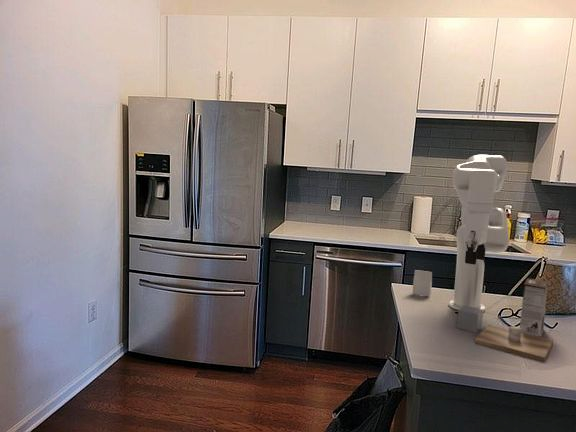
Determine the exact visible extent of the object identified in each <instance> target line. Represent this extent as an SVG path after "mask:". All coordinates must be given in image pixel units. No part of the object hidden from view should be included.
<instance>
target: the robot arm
mask: <svg viewBox="0 0 576 432" xmlns="http://www.w3.org/2000/svg"><path fill="white" fill-rule="evenodd" d="M507 172H508V161H507V159H506V158H505V157H504V156H503V155H492V154H491V155H489V154H476V155H472V156H470V157H469V158H467V160H466V162H465V163H464V162H463V163H461V164H458V165H456V166H455V168H454V170H453V172H452V173H453V174H452V185H453V188H454V190H456V195H457V198H458V199H459V200H458V201H459V202H460V204H461V212H460V215H461V217H460V220H461V225H460V226H458V227H457V230H456V266H455V278H454V279H455V280H454V289H453V290H454V292H453V299H452V300H450V301H448V306H449V307H450V308H451V309H454V310H457V311H458V310H459V309H460V308H462V307H463V306H468V307H472V308H477V309H481V310H483V312H485V310H486V306H485V305H484V304H482V296H483V286H484V285H483V284H484V276H485V275H484V274H485V273H484V272H485V262H484V261H485V259H486V252H489V253H504V252H505V251H507V250H508V249H507V248H509V243H510V237H509V236H510V234H509V226H508V225H509V224H508V215H507V213H506V210H505V209H503V208H501V207H494V197H495V193H497V192H500V191H502V189H503V187H504V185H505V184H504V183H505V179H506V176H507Z"/></svg>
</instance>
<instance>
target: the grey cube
mask: <svg viewBox="0 0 576 432" xmlns="http://www.w3.org/2000/svg"><path fill="white" fill-rule="evenodd" d="M457 311H458V313H457V323H456V324H457V325H456V329H462V330H464V331H469V332H473V333H478V331H479V330H480V329H482V328H483V327H482V325H483V317H484V316H483V315H484V311H483V310H481V309H477V308H472V307H468V306H463V307H462V308H460V309H459V310H457Z"/></svg>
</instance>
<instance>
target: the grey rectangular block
mask: <svg viewBox="0 0 576 432" xmlns="http://www.w3.org/2000/svg"><path fill="white" fill-rule="evenodd" d="M432 284H433V271H426V270H425V271H424V270H421V269H420V270H417V269H414V276H413V281H412V293H411V294H417V295H416V296H418V295H423V296H422V297H425V296H428V297H427V298H430V297H431V296H432ZM430 295H431V296H430Z"/></svg>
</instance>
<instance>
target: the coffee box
mask: <svg viewBox="0 0 576 432" xmlns="http://www.w3.org/2000/svg"><path fill="white" fill-rule="evenodd" d="M548 287H549V281H546V280H545V281H544V280H540V279H535V278H526V280H525V282H524V283H523V293H522V295H523V296H522V301H521V302H522V304H521V313H520V323H519V328H521V333H525V334H529V335H534V336H538V337H542V335H543V332H544V328H545V319H546V310H547V309H546V307H547V301H548V291H549V288H548Z"/></svg>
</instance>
